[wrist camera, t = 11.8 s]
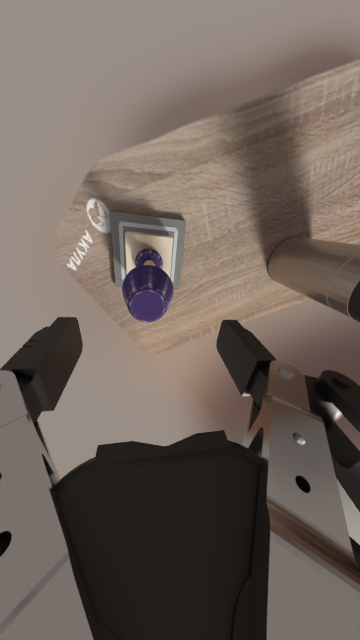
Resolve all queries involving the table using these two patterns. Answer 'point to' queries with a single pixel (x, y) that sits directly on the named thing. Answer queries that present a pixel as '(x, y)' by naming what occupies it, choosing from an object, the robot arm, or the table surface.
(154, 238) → the cream block
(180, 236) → the slate board
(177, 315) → the table surface
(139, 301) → the toy lamp
